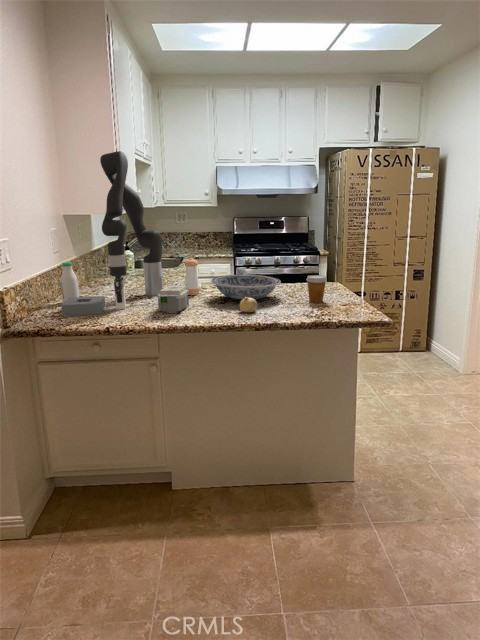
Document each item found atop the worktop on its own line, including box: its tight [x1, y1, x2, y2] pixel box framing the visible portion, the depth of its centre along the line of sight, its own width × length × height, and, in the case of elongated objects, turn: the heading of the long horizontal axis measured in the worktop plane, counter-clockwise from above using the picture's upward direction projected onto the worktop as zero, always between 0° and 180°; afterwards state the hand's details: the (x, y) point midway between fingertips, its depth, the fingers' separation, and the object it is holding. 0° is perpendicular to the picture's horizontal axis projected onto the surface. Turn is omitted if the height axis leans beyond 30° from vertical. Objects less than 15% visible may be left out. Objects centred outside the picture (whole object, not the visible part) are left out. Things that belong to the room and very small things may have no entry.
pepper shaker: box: [183, 257, 200, 296], centre depth 239 cm, size 7×7×19 cm
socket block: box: [61, 295, 106, 317], centre depth 208 cm, size 16×16×5 cm
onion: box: [239, 297, 259, 313], centre depth 201 cm, size 8×8×7 cm
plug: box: [113, 281, 127, 311], centre depth 211 cm, size 4×4×12 cm
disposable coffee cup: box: [305, 274, 327, 304], centre depth 218 cm, size 10×10×12 cm
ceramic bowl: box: [210, 274, 282, 301], centre depth 227 cm, size 34×34×10 cm
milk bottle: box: [60, 261, 80, 304], centre depth 224 cm, size 8×8×20 cm
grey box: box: [156, 285, 190, 314], centre depth 209 cm, size 12×28×10 cm, turn 177°
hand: (120, 301), depth 212 cm, fingers open, 5 cm apart
